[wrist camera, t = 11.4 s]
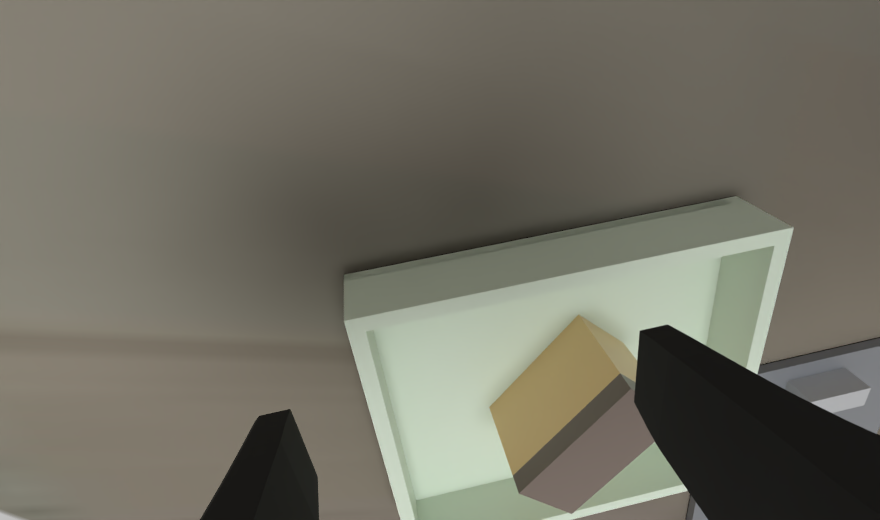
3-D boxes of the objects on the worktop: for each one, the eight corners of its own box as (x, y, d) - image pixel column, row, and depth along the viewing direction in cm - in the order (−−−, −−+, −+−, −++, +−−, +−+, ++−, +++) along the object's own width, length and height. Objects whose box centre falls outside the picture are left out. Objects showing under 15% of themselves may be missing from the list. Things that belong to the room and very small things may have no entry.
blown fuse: (623, 342, 23) (681, 418, 19) (535, 428, 24) (571, 513, 20) (578, 314, 21) (631, 388, 17) (489, 407, 23) (518, 493, 19)
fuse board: (910, 330, 26) (950, 355, 25) (810, 563, 37) (832, 592, 36) (713, 376, 25) (740, 405, 24) (670, 601, 36) (686, 632, 35)
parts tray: (736, 196, 20) (793, 227, 18) (694, 432, 27) (731, 480, 25) (343, 275, 19) (343, 321, 16) (405, 501, 26) (411, 559, 24)
